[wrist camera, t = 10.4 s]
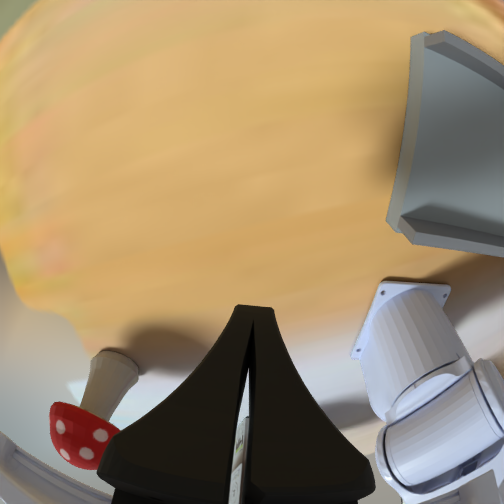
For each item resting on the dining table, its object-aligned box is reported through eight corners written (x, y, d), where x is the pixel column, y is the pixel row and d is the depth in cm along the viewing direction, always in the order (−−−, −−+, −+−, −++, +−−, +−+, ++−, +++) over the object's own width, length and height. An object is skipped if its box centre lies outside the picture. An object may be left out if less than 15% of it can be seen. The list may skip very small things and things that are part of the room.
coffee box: (233, 431, 36) (221, 524, 22) (245, 415, 33) (234, 523, 19) (289, 440, 37) (287, 528, 23) (307, 425, 34) (309, 525, 20)
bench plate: (515, 244, 18) (540, 267, 14) (385, 220, 19) (410, 249, 15) (543, 115, 12) (574, 125, 8) (410, 37, 12) (444, 24, 8)
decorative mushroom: (136, 341, 27) (84, 463, 14) (163, 387, 31) (132, 491, 18) (73, 336, 28) (18, 430, 15) (103, 379, 32) (65, 465, 19)
